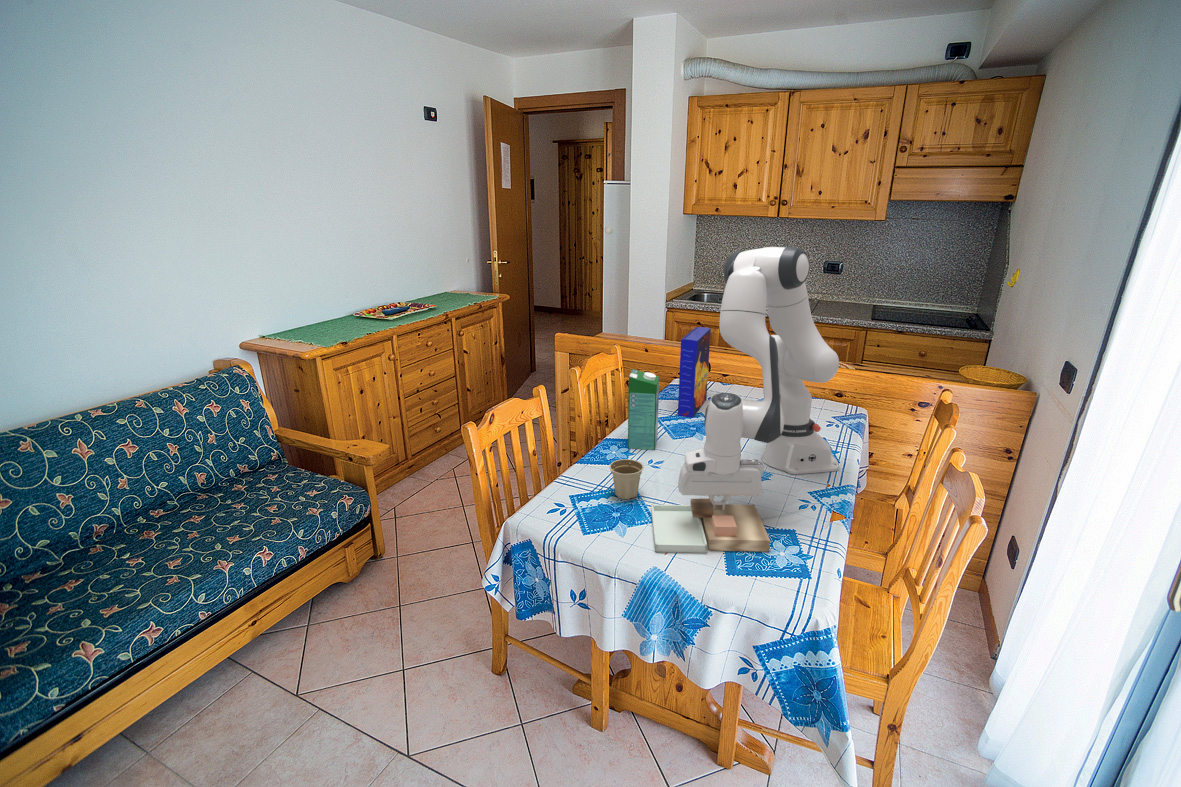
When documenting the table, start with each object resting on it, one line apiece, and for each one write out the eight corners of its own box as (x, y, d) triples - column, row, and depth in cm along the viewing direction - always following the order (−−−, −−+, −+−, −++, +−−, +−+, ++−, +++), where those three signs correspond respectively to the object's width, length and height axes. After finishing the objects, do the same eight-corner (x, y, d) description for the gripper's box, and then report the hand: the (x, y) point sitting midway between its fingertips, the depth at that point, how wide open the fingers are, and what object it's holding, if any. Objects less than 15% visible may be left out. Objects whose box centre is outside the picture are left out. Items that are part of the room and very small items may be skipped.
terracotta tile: (732, 524, 135) (732, 515, 135) (736, 536, 131) (736, 527, 130) (711, 524, 136) (712, 515, 135) (714, 535, 131) (715, 526, 130)
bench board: (753, 514, 145) (754, 504, 144) (768, 551, 130) (770, 540, 129) (699, 513, 146) (699, 503, 145) (708, 550, 131) (709, 539, 130)
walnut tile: (710, 506, 143) (710, 498, 142) (713, 517, 138) (713, 508, 138) (690, 507, 143) (690, 498, 143) (692, 517, 139) (692, 508, 138)
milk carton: (655, 450, 183) (657, 377, 175) (627, 448, 185) (628, 376, 176) (657, 439, 191) (659, 369, 183) (631, 437, 193) (632, 368, 185)
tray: (696, 511, 147) (697, 505, 146) (707, 552, 130) (707, 545, 129) (651, 511, 147) (651, 504, 147) (655, 551, 130) (655, 544, 130)
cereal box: (693, 417, 209) (697, 340, 199) (677, 415, 212) (681, 338, 202) (706, 399, 228) (710, 327, 218) (692, 397, 230) (695, 326, 220)
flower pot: (607, 486, 160) (607, 459, 157) (640, 484, 161) (640, 457, 158) (611, 503, 151) (611, 475, 148) (645, 501, 152) (646, 473, 149)
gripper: (761, 454, 138) (756, 503, 143) (678, 453, 139) (676, 502, 144) (768, 465, 132) (762, 516, 137) (681, 464, 133) (679, 515, 138)
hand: (717, 509), depth 140 cm, fingers closed
